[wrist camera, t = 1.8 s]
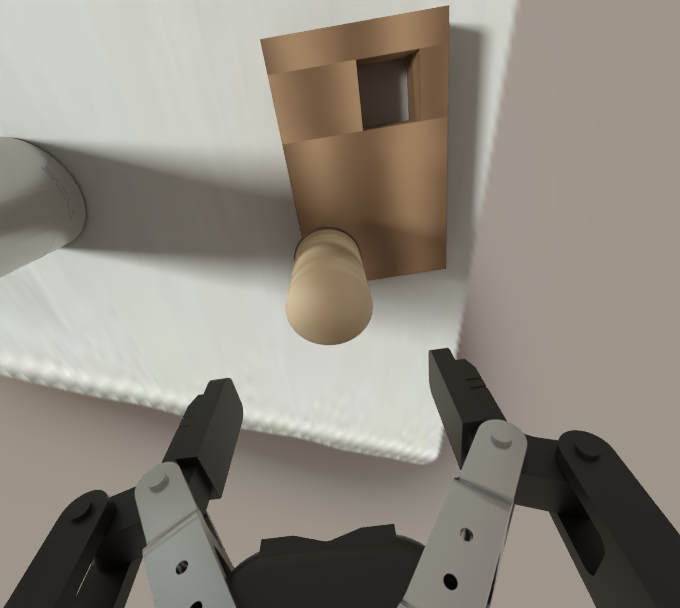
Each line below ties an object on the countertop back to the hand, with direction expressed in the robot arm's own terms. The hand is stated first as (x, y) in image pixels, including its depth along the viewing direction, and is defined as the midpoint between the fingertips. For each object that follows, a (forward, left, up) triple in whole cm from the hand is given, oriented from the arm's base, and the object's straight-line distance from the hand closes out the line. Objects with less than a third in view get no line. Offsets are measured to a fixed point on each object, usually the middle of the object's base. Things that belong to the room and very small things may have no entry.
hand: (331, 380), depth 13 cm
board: (+4, +5, -21) cm, 22 cm away
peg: (0, 0, -17) cm, 17 cm away
